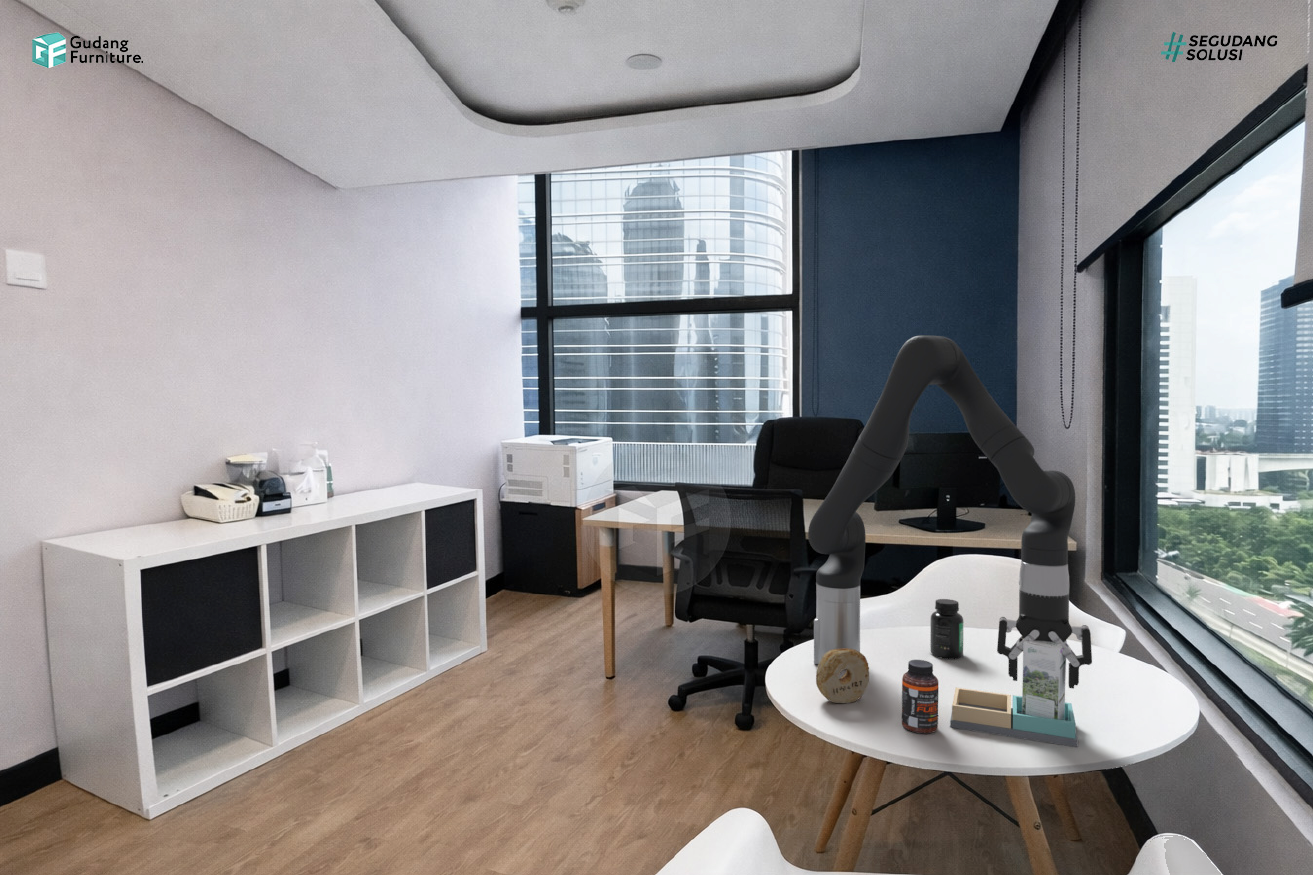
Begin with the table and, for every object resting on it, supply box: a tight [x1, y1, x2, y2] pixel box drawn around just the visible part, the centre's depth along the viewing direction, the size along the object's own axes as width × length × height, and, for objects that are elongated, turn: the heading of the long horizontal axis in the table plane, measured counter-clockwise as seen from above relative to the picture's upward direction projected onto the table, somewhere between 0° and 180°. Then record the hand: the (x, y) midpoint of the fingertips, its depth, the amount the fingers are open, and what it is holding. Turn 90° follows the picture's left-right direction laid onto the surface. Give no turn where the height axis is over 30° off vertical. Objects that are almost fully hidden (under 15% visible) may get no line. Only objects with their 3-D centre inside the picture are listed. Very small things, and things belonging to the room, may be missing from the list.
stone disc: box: [815, 648, 870, 704], centre depth 143 cm, size 10×4×10 cm, turn 106°
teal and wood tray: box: [949, 687, 1078, 748], centre depth 131 cm, size 19×10×4 cm, turn 65°
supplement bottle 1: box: [901, 659, 939, 735], centre depth 130 cm, size 6×6×11 cm
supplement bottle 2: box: [929, 598, 964, 660], centre depth 168 cm, size 7×7×12 cm
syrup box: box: [1021, 640, 1068, 720], centre depth 129 cm, size 6×6×14 cm
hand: (1042, 683), depth 129 cm, fingers open, 8 cm apart
